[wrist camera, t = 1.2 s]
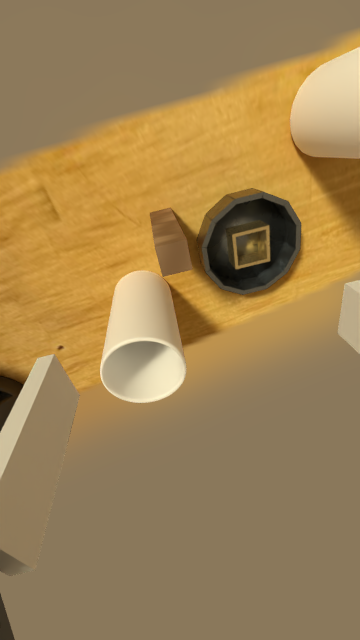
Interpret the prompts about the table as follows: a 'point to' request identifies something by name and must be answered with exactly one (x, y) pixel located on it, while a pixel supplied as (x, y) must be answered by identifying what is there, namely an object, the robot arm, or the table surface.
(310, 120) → the potion bottle
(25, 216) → the table surface
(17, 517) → the robot arm
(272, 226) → the bowl
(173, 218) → the square wooden stick
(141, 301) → the cup
